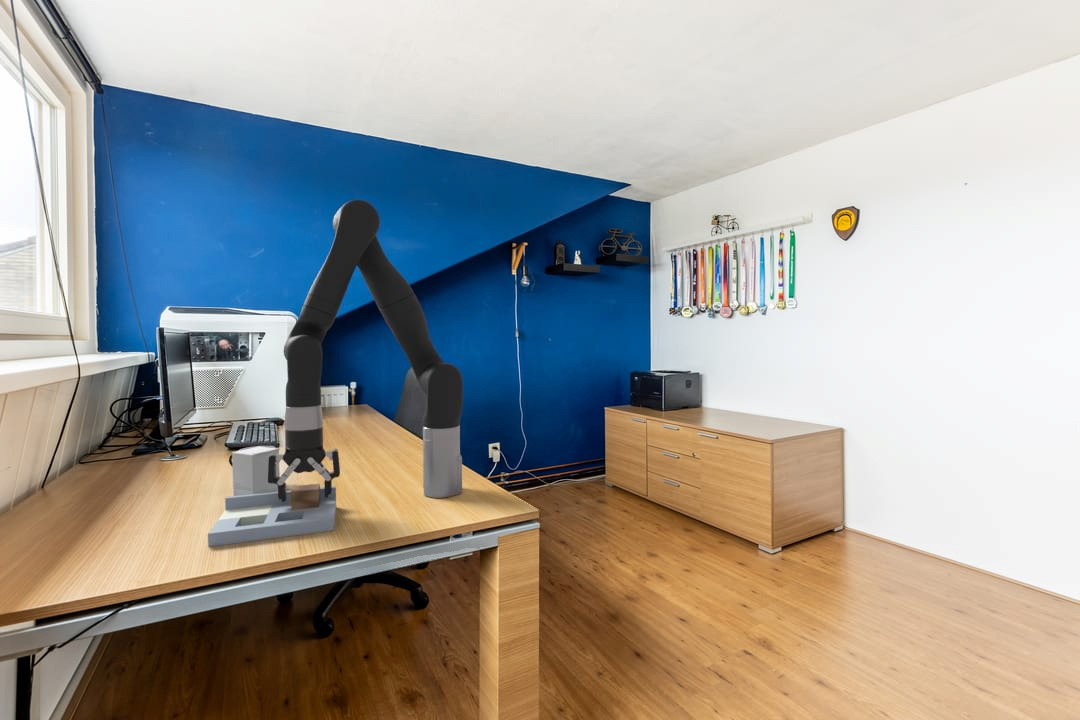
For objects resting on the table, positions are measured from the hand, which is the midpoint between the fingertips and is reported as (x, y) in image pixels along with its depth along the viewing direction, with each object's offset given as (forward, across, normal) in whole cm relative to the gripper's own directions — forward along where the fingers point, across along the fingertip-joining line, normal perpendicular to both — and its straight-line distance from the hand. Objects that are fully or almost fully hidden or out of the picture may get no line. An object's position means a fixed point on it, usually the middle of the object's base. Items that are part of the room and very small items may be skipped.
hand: (305, 498), depth 109 cm
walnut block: (+2, 0, 0) cm, 2 cm away
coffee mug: (+4, +15, -30) cm, 34 cm away
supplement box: (+4, +12, -15) cm, 20 cm away
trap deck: (+4, +5, +3) cm, 7 cm away
